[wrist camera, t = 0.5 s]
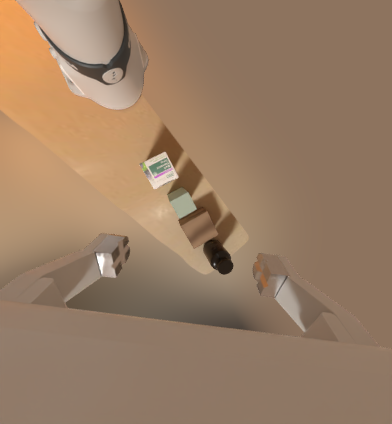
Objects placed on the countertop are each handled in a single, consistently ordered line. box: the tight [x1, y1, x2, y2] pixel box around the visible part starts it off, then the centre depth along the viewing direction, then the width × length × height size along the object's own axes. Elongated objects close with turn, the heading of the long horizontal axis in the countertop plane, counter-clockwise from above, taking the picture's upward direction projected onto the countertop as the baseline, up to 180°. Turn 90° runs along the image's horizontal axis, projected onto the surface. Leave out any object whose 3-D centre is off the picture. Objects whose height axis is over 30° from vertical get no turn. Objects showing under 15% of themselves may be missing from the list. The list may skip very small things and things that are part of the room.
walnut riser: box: [178, 207, 219, 249], centre depth 48 cm, size 9×9×5 cm
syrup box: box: [139, 152, 179, 189], centre depth 36 cm, size 6×6×14 cm
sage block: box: [168, 187, 197, 219], centre depth 41 cm, size 5×5×10 cm
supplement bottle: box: [203, 240, 233, 274], centre depth 49 cm, size 7×7×12 cm
